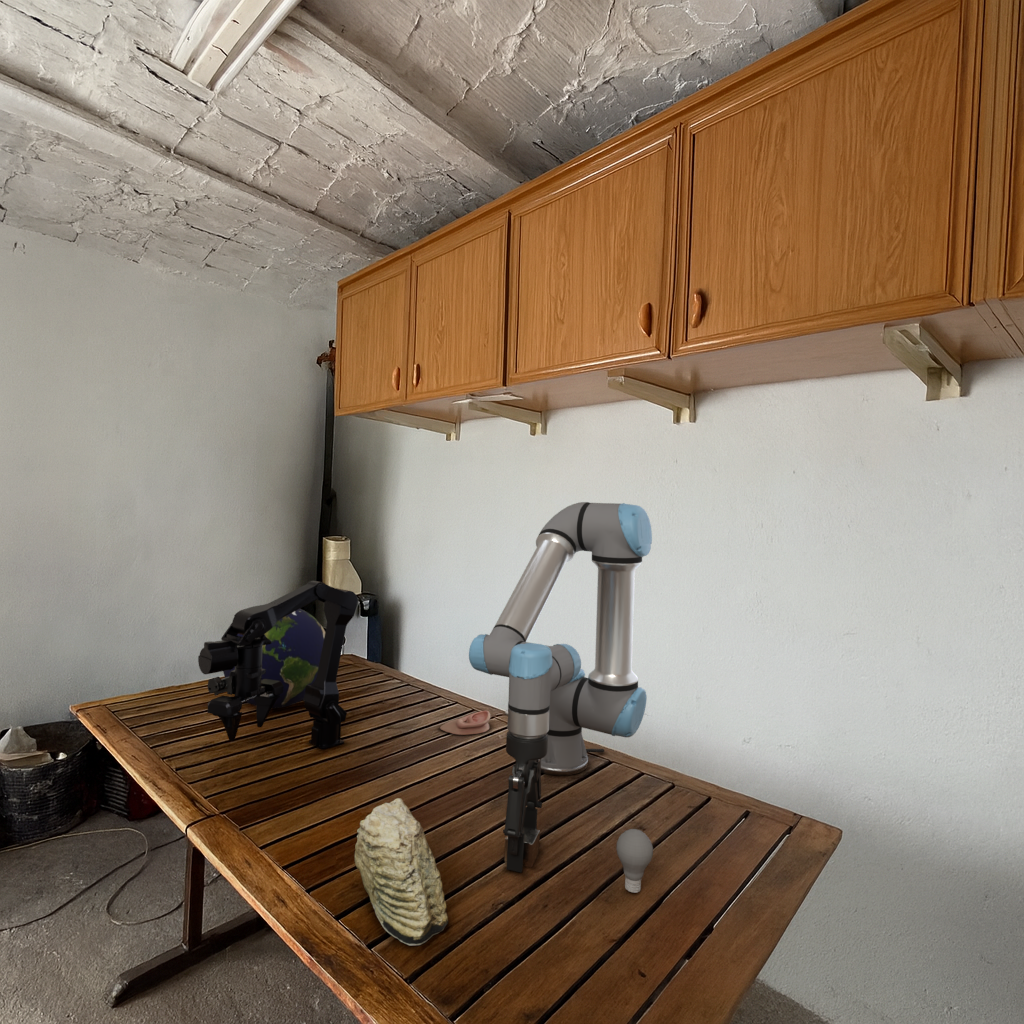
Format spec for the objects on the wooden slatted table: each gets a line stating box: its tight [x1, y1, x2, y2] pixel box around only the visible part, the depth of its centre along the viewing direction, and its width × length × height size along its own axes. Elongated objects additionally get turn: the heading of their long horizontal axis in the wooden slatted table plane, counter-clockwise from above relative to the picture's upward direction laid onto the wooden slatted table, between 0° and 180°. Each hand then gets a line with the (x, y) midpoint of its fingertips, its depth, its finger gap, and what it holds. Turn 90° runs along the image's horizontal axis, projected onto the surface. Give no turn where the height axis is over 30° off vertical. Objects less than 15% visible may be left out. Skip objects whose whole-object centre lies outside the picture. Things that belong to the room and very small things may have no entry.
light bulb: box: [615, 828, 654, 894], centre depth 106 cm, size 6×6×10 cm
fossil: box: [354, 797, 449, 947], centre depth 98 cm, size 9×18×15 cm, turn 46°
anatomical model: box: [439, 709, 491, 736], centre depth 177 cm, size 13×4×12 cm
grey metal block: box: [503, 827, 541, 868], centre depth 114 cm, size 5×5×4 cm
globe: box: [222, 608, 326, 710], centre depth 188 cm, size 30×30×30 cm
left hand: (246, 733), depth 145 cm, fingers open, 9 cm apart
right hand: (521, 855), depth 114 cm, fingers open, 8 cm apart
